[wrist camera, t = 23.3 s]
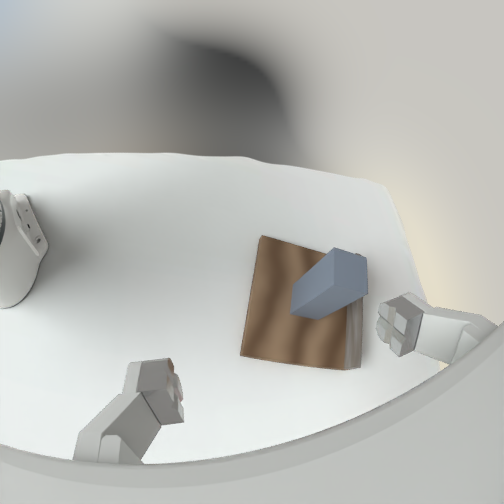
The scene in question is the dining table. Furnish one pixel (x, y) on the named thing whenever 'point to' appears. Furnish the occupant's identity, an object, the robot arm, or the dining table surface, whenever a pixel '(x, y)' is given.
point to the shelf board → (292, 326)
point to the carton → (330, 285)
